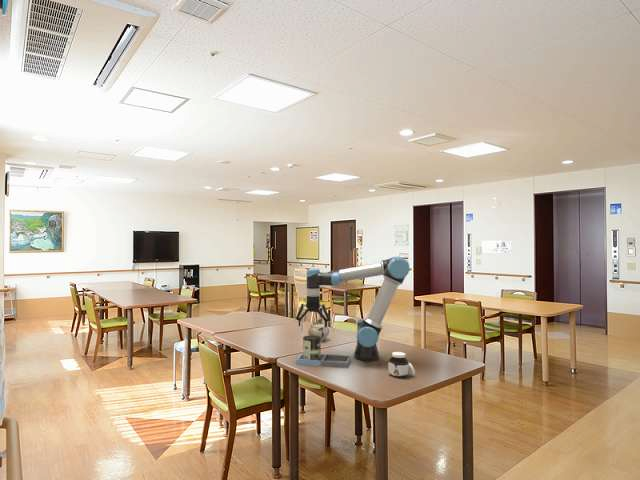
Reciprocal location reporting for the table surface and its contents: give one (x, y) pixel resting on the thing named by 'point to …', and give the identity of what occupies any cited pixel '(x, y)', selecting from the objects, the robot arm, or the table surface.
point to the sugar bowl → (318, 330)
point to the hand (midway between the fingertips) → (312, 332)
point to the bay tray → (326, 363)
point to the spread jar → (400, 366)
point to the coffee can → (311, 347)
